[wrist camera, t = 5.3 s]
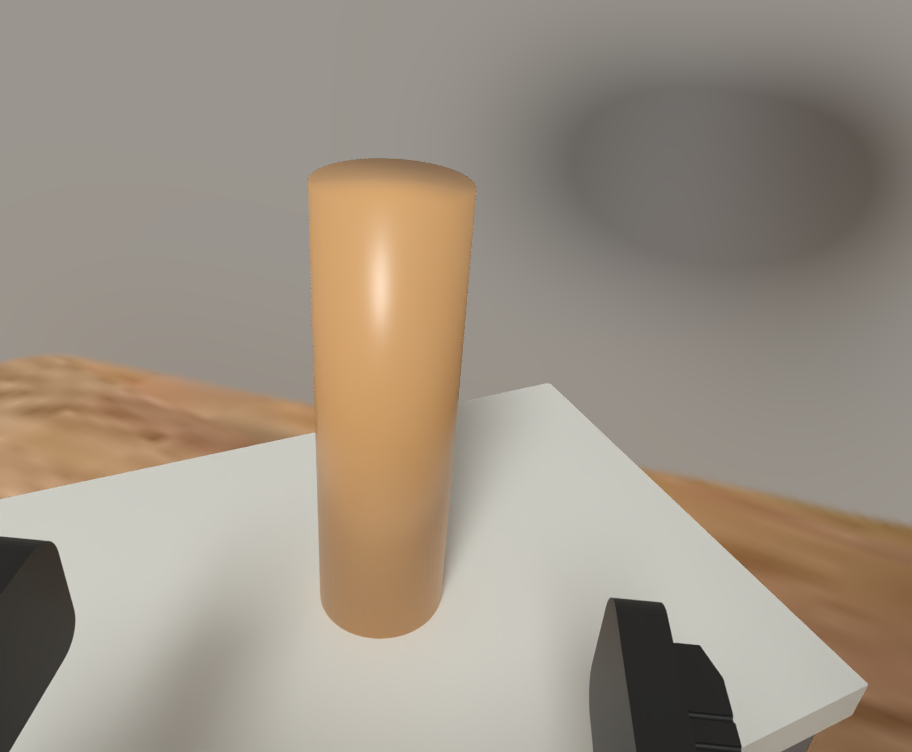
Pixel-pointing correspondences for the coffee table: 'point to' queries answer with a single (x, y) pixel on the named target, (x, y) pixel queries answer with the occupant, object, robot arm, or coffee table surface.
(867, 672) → the coffee table surface
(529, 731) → the tub lid
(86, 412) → the coffee table surface
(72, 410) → the coffee table surface
